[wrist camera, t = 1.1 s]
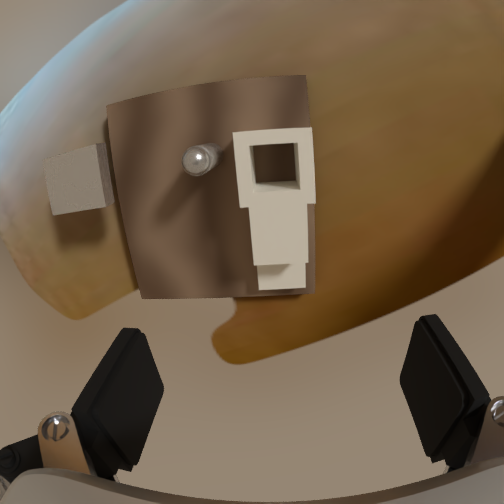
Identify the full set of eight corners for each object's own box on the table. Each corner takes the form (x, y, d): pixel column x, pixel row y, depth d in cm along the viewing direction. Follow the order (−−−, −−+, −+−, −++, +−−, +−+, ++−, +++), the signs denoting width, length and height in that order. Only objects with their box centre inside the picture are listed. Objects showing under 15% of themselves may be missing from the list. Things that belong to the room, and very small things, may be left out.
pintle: (222, 141, 23) (206, 144, 17) (224, 165, 24) (209, 176, 18) (197, 144, 23) (175, 149, 18) (200, 168, 24) (179, 180, 18)
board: (303, 78, 22) (305, 75, 20) (313, 285, 29) (314, 293, 27) (114, 106, 23) (106, 105, 22) (147, 291, 30) (142, 298, 29)
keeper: (127, 139, 24) (95, 144, 19) (134, 192, 26) (106, 207, 21) (77, 152, 25) (42, 159, 20) (84, 199, 27) (52, 215, 22)
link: (238, 132, 22) (232, 132, 19) (305, 128, 22) (311, 127, 18) (253, 282, 27) (249, 306, 24) (310, 279, 27) (316, 302, 23)
